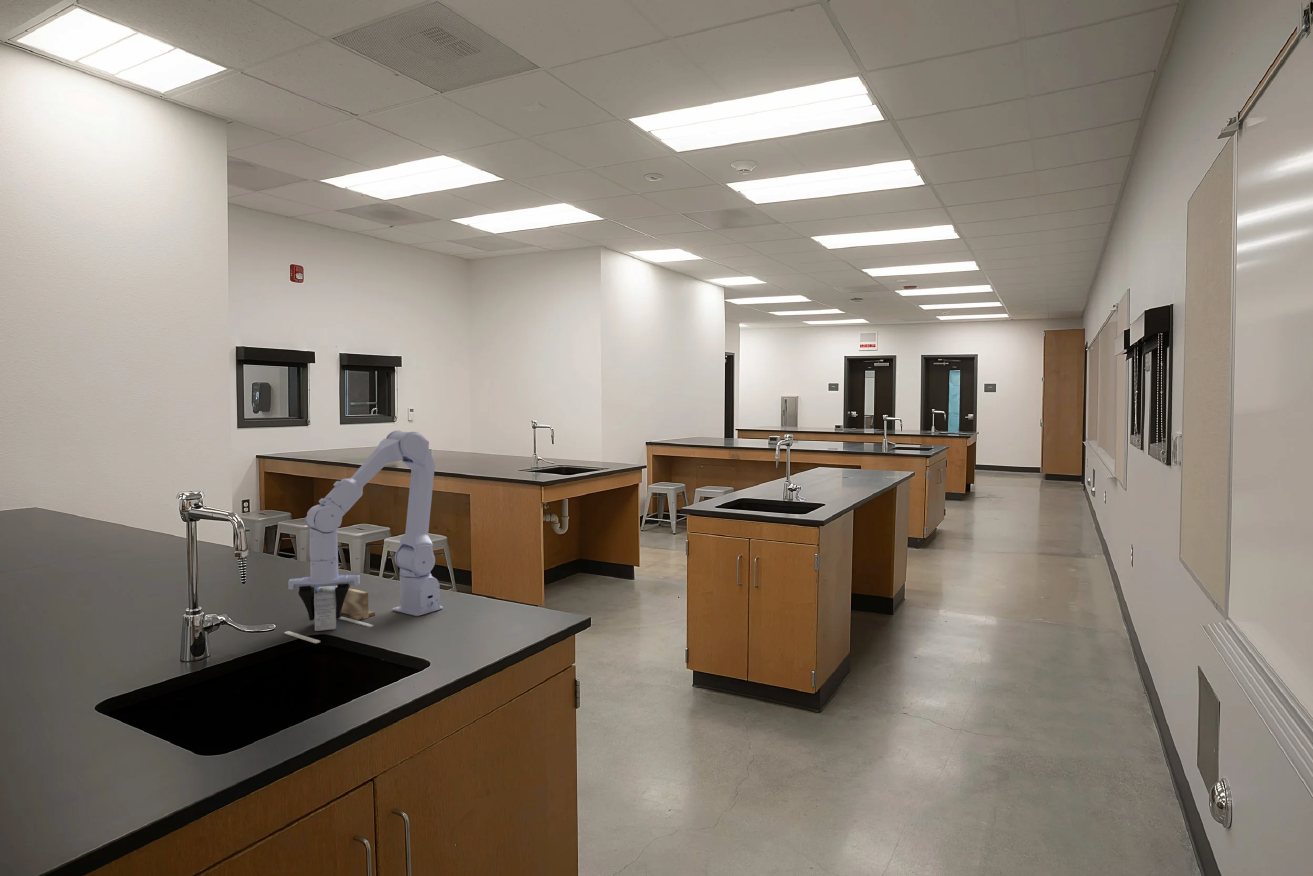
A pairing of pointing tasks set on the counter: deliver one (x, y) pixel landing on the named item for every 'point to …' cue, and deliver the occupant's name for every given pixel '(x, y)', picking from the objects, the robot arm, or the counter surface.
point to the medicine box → (325, 608)
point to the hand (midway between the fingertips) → (325, 618)
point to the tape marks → (318, 640)
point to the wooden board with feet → (356, 604)
